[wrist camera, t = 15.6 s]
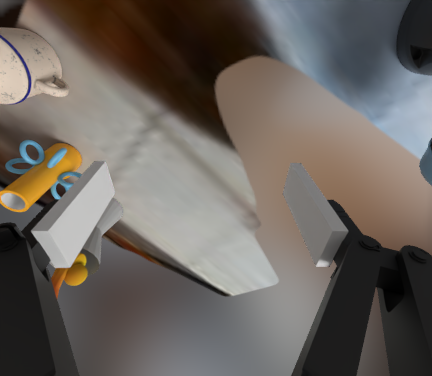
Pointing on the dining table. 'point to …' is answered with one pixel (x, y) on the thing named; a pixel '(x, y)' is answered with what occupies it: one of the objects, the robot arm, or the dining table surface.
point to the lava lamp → (88, 250)
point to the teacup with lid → (28, 67)
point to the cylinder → (40, 174)
